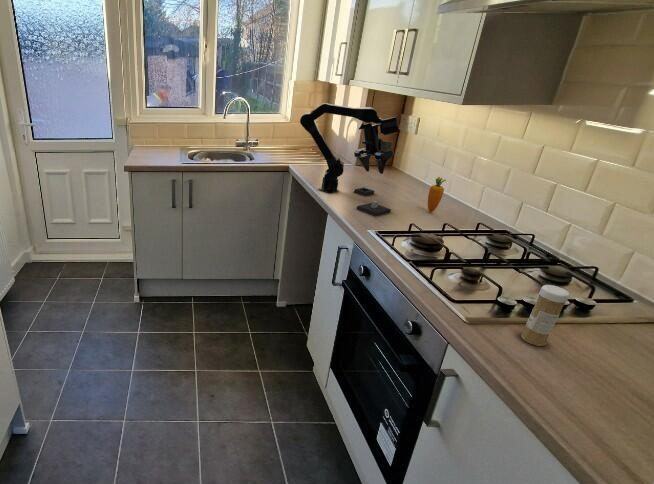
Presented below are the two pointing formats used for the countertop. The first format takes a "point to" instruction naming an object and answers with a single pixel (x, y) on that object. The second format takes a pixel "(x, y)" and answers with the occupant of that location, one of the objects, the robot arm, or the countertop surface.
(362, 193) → the small pad
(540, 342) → the sprinkles bottle
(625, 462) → the countertop surface
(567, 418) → the countertop surface
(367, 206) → the base pad
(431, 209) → the carrot
